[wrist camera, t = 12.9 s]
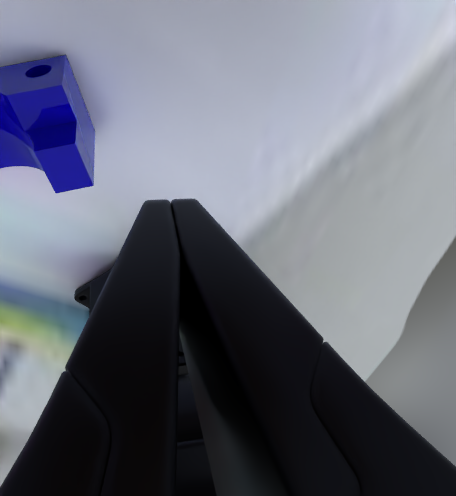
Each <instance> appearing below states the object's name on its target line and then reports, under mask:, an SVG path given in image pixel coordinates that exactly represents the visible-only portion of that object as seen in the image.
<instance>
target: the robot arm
mask: <svg viewBox="0 0 456 496" xmlns="http://www.w3.org/2000/svg"><path fill="white" fill-rule="evenodd" d="M75 300H76V301H77V302H79V303H81V304H82V305H84V306H86V307H88V308H89V318H88V320H87V322H86V324H85V326H84V329H83V331H82V333H81V335H80V337H79V339H78V341H77V343H76V345H75V347H74V349H73V352H72V354H71V356H70V358H69V360H68V362H67V364H66V366H65V369H66V371H64V372H63V373H62V374H61V376H60V378H59V380H58V382H57V384H56V386H55V388H54V391H53V393H52V395H51V397H50V399H49V401H48V403H47V405H46V407H45V409H44V410H43V412H42V414H41V416H40V418H39V420H38V422H37V424H36V426H35V428H34V430H33V432H32V434H31V436H30V437H29V439H28V441H27V443H26V445H25V446H24V448H23V450H22V451H21V453H20V455H19V456H18V458H17V460H16V461H15V463H14V465H13V467H12V468H11V470H10V472H9V473H8V475H7V477H6V478H5V480H4V482H3V483H2V485H1V487H0V496H456V467H455V466H454V465H453V464H452V463H451V462H450V461H449V460H448V459H447V458H446V457H444V456H443V455H442V454H441V453H440V452H438V450H436V449H435V448H434V447H433V446H432V445H431V444H430V443H429V442H428V441H427V440H426V439H424V438H423V437H422V436H421V435H420V434H419V433H418V432H417V431H416V430H414V429H413V428H412V427H411V426H410V425H409V424H408V423H406V421H405V420H403V419H402V418H401V417H400V416H399V415H398V414H397V413H396V412H395V411H394V410H393V409H392V408H391V407H390V406H389V405H387V403H386V402H384V401H383V400H382V399H381V398H380V397H379V396H378V395H377V394H376V393H375V392H374V391H373V390H372V389H371V388H370V387H369V386H368V385H367V384H366V383H365V382H364V381H363V380H362V379H361V378H360V377H359V376H358V375H357V374H356V372H355V371H354V370H353V369H352V368H351V367H350V366H349V365H348V364H347V363H346V362H345V361H344V360H343V359H342V358H341V357H340V356H339V355H338V353H337V352H336V351H335V350H334V349H333V348H332V347H331V346H330V345H329V344H328V343H327V342H324V343H323V337H322V336H321V335H320V334H319V333H318V332H317V331H316V330H315V329H314V327H313V326H312V325H311V324H310V323H309V322H308V321H307V320H306V319H305V318H304V317H303V315H302V314H301V313H300V312H299V311H298V310H297V309H296V308H295V307H294V306H293V304H292V303H291V302H290V301H289V300H288V299H287V298H286V297H285V296H284V295H283V294H282V292H281V291H280V290H279V289H278V288H277V287H276V286H275V285H274V284H273V283H272V282H271V280H270V279H269V278H268V277H267V276H266V275H265V274H264V273H263V272H262V271H261V270H260V268H259V267H258V266H257V265H256V264H255V263H254V262H253V261H252V260H251V259H250V258H249V256H248V255H247V254H246V253H245V252H244V251H243V250H242V249H241V248H240V247H239V245H238V244H237V243H236V242H235V241H234V240H233V239H232V238H231V237H230V236H229V235H228V233H227V232H226V231H225V230H224V229H223V228H222V227H221V226H220V225H219V224H218V223H217V221H216V220H215V219H214V218H213V217H212V216H211V215H210V214H209V213H208V212H207V211H206V209H205V208H204V207H203V206H202V205H201V204H200V203H199V202H198V201H197V200H195V199H174V200H172V202H171V203H170V202H169V201H168V200H147V201H145V202H144V203H143V205H142V207H141V209H140V211H139V214H138V216H137V218H136V220H135V222H134V224H133V226H132V228H131V230H130V232H129V234H128V237H127V239H126V241H125V243H124V245H123V247H122V249H121V251H120V253H119V255H118V257H117V260H116V262H115V264H114V266H113V268H112V269H111V270H109V271H107V272H106V273H104V274H102V275H101V276H99V277H97V278H96V279H94V280H92V281H90V282H89V283H87V284H85V285H84V286H82V287H80V288H79V289H77V290H76V291H75Z"/></svg>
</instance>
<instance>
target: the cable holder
mask: <svg viewBox="0 0 456 496" xmlns="http://www.w3.org/2000/svg"><path fill="white" fill-rule="evenodd" d="M94 150H95V129H94V127H93V124H92V121H91V119H90V116H89V114H88V111H87V108H86V106H85V103H84V101H83V98H82V95H81V93H80V90H79V88H78V85H77V82H76V80H75V77H74V74H73V72H72V69H71V67H70V64H69V61H68V59H67V56H66V55H63V56H57V57H52V58H47V59H41V60H36V61H31V62H25V63H20V64H15V65H9V66H4V67H0V168H4V167H11V166H29V167H34V168H38V169H40V170H43V171H44V172H45V174H46V176H47V178H48V179H49V181H50V183H51V185H52V187H53V189H54V191H55V193H60V192H65V191H70V190H75V189H80V188H85V187H90V186H94Z"/></svg>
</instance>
